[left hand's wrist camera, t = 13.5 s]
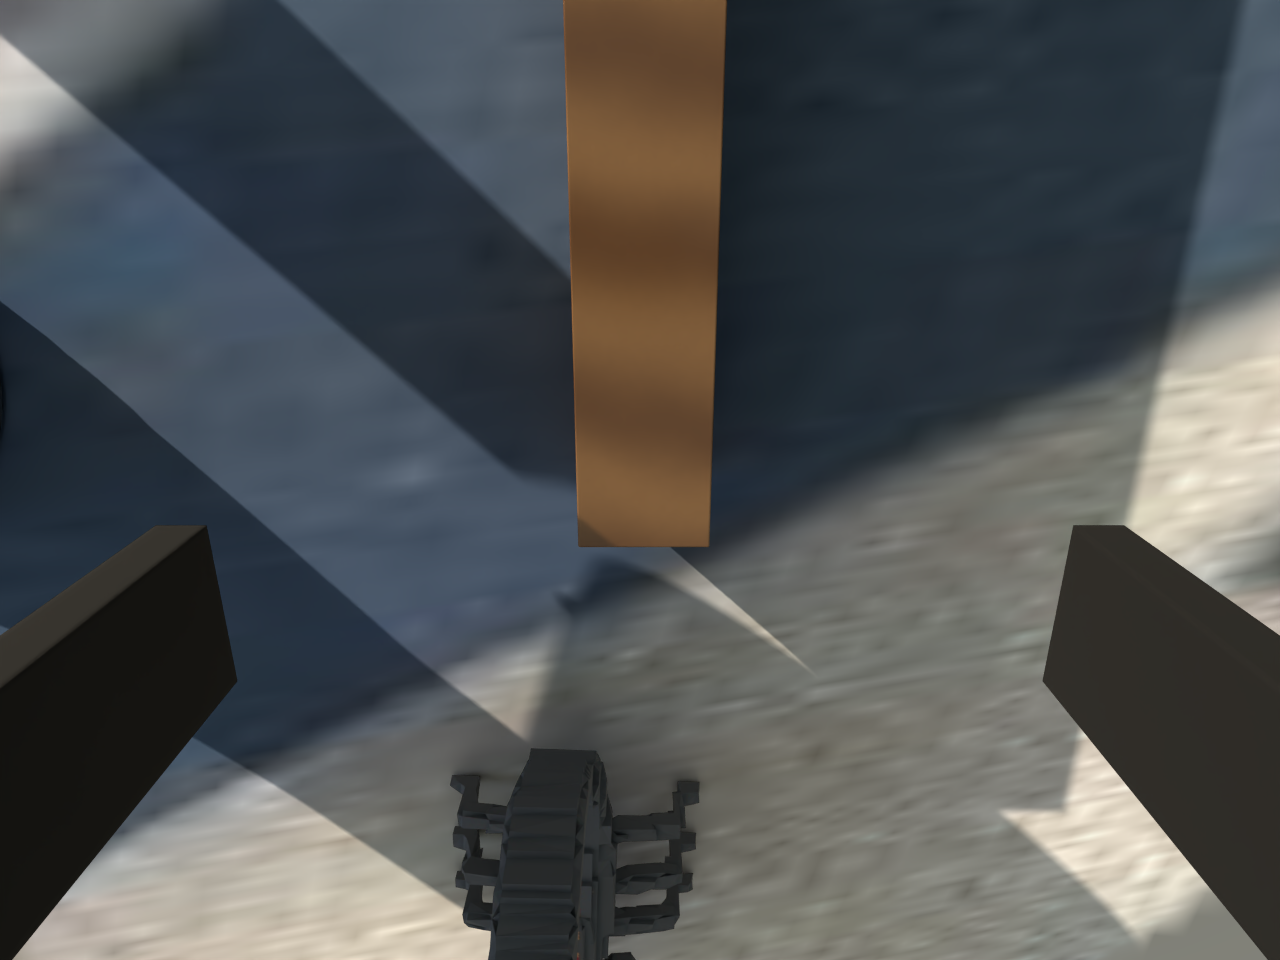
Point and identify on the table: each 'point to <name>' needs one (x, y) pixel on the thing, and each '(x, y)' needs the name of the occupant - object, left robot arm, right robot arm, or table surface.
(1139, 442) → the table surface
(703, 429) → the post
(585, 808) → the toy
